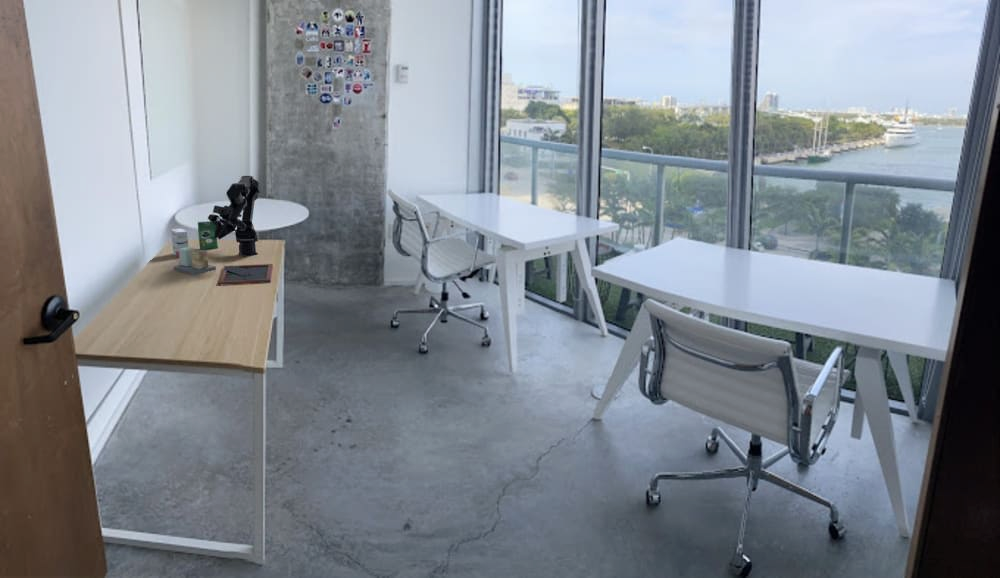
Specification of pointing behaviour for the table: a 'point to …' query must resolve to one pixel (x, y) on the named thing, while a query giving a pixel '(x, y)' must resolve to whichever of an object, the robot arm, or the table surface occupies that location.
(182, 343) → the table surface
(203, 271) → the key base
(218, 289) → the table surface
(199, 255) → the wooden button block
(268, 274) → the picture frame
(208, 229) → the coffee box
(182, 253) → the two-stud toy brick
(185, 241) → the ink box
